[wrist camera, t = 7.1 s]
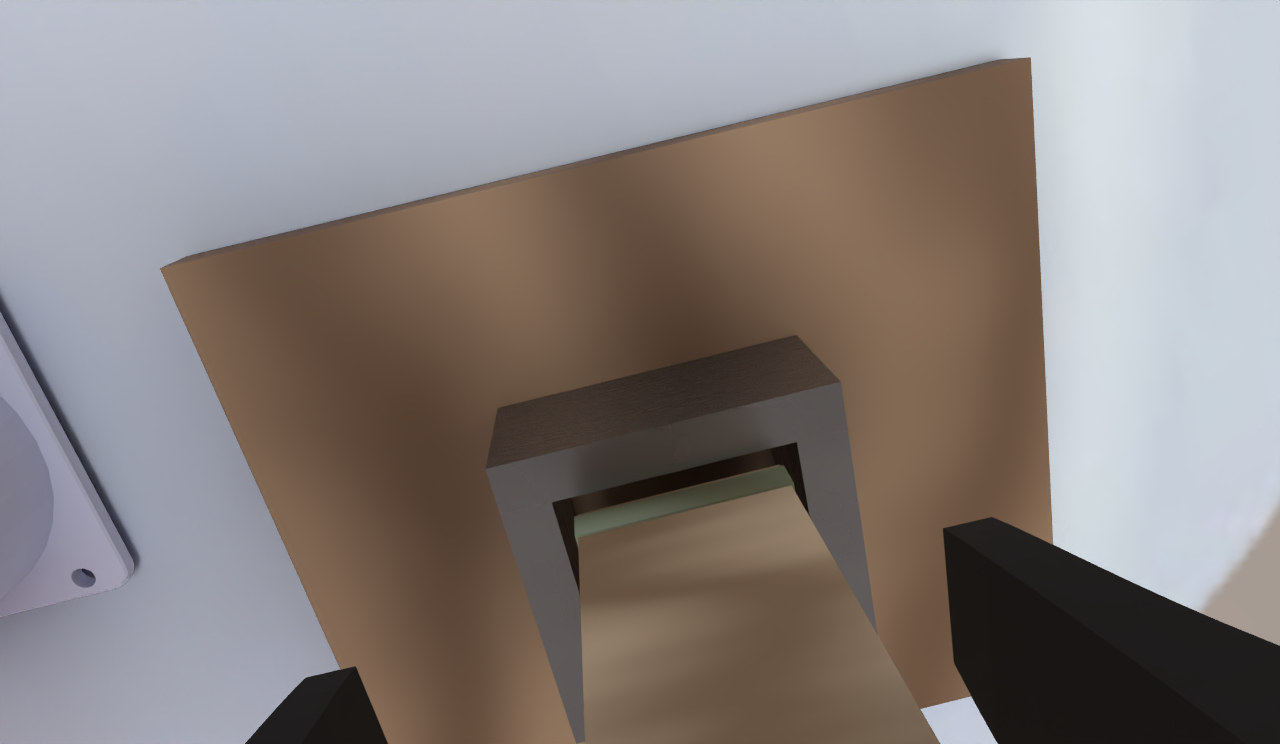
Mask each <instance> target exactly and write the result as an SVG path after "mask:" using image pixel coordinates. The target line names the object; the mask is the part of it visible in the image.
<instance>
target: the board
mask: <svg viewBox="0 0 1280 744" xmlns="http://www.w3.org/2000/svg"><path fill="white" fill-rule="evenodd" d="M160 270H161V272H162V274H163V276H164V279H165V281H166V283H167V285H168V287H169V290H170V292H171V294H172V296H173V298H174V301H175V303H176V305H177V307H178V310H179V312H180V314H181V316H182V318H183V321H184V323H185V325H186V327H187V330H188V332H189V334H190V336H191V338H192V341H193V343H194V345H195V347H196V350H197V352H198V354H199V356H200V358H201V361H202V363H203V365H204V367H205V370H206V372H207V374H208V376H209V378H210V381H211V383H212V385H213V387H214V390H215V392H216V394H217V396H218V398H219V401H220V403H221V405H222V407H223V409H224V412H225V414H226V416H227V418H228V421H229V423H230V425H231V427H232V429H233V432H234V434H235V436H236V438H237V441H238V443H239V445H240V447H241V449H242V452H243V454H244V456H245V458H246V461H247V463H248V465H249V467H250V469H251V472H252V474H253V476H254V478H255V481H256V483H257V485H258V487H259V489H260V492H261V494H262V496H263V498H264V500H265V503H266V505H267V507H268V509H269V512H270V514H271V516H272V518H273V520H274V523H275V525H276V527H277V529H278V532H279V534H280V536H281V538H282V540H283V543H284V545H285V547H286V549H287V552H288V554H289V556H290V558H291V560H292V563H293V565H294V567H295V569H296V572H297V574H298V576H299V578H300V580H301V583H302V585H303V587H304V589H305V592H306V594H307V596H308V598H309V600H310V603H311V605H312V607H313V609H314V611H315V614H316V616H317V618H318V620H319V623H320V625H321V627H322V629H323V631H324V634H325V636H326V638H327V640H328V643H329V645H330V647H331V649H332V651H333V654H334V656H335V658H336V660H337V663H338V665H339V667H340V669H345V668H350V667H354V666H356V668H357V670H358V673H359V675H360V677H361V680H362V682H363V685H364V687H365V689H366V692H367V694H368V697H369V699H370V701H371V704H372V706H373V709H374V711H375V713H376V716H377V718H378V721H379V723H380V725H381V728H382V730H383V733H384V735H385V737H386V740H387V742H388V744H576V742H575V739H574V736H573V733H572V730H571V727H570V724H569V721H568V717H567V714H566V711H565V708H564V705H563V702H562V699H561V696H560V693H559V690H558V687H557V684H556V681H555V678H554V675H553V672H552V669H551V666H550V663H549V660H548V657H547V654H546V651H545V648H544V645H543V642H542V639H541V636H540V633H539V630H538V627H537V624H536V621H535V618H534V615H533V612H532V609H531V606H530V603H529V600H528V597H527V594H526V591H525V588H524V585H523V582H522V579H521V576H520V573H519V570H518V567H517V564H516V561H515V558H514V555H513V552H512V549H511V546H510V543H509V540H508V537H507V534H506V531H505V528H504V525H503V521H502V518H501V515H500V512H499V509H498V506H497V503H496V500H495V497H494V494H493V491H492V488H491V485H490V482H489V479H488V476H487V473H486V470H485V467H486V463H487V458H488V453H489V448H490V443H491V438H492V433H493V428H494V423H495V418H496V414H497V409H498V408H499V407H503V406H507V405H511V404H515V403H520V402H524V401H528V400H532V399H536V398H540V397H544V396H548V395H552V394H556V393H560V392H564V391H568V390H573V389H577V388H581V387H585V386H589V385H593V384H597V383H601V382H605V381H609V380H613V379H617V378H622V377H626V376H630V375H634V374H638V373H642V372H646V371H650V370H654V369H658V368H662V367H666V366H671V365H675V364H679V363H683V362H687V361H691V360H695V359H699V358H703V357H707V356H711V355H715V354H720V353H724V352H728V351H732V350H736V349H740V348H744V347H748V346H752V345H756V344H760V343H764V342H768V341H773V340H777V339H781V338H785V337H789V336H793V335H797V336H798V337H799V338H800V339H801V340H802V341H803V342H804V343H805V344H806V345H807V346H808V348H809V349H810V350H811V351H812V352H813V353H814V354H815V355H816V356H817V357H818V358H819V359H820V360H821V361H822V362H823V363H824V364H825V365H826V367H827V368H828V369H829V370H830V371H831V372H832V373H833V374H834V375H835V376H836V377H837V378H838V379H839V380H840V381H841V386H842V393H843V400H844V407H845V413H846V420H847V427H848V434H849V441H850V448H851V455H852V462H853V469H854V476H855V482H856V489H857V496H858V503H859V510H860V517H861V524H862V531H863V538H864V544H865V551H866V558H867V565H868V572H869V579H870V586H871V593H872V600H873V607H874V613H875V620H876V627H877V634H878V637H879V638H880V640H881V642H882V644H883V645H884V647H885V649H886V651H887V652H888V654H889V656H890V658H891V659H892V661H893V663H894V664H895V666H896V668H897V670H898V671H899V673H900V675H901V677H902V678H903V680H904V682H905V684H906V685H907V687H908V689H909V691H910V692H911V694H912V696H913V698H914V699H915V701H916V703H917V704H918V706H919V708H920V709H922V708H926V707H930V706H934V705H938V704H942V703H946V702H950V701H954V700H958V699H962V698H966V697H970V696H971V694H970V693H969V691H968V689H967V687H966V685H965V683H964V681H963V679H962V677H961V676H960V674H959V672H958V670H957V668H956V666H955V664H954V659H953V647H952V635H951V623H950V611H949V599H948V586H947V574H946V562H945V550H944V538H943V528H946V527H951V526H955V525H959V524H963V523H968V522H972V521H976V520H980V519H985V518H989V517H993V518H996V519H998V520H1001V521H1003V522H1005V523H1008V524H1010V525H1012V526H1014V527H1016V528H1019V529H1021V530H1023V531H1025V532H1027V533H1029V534H1031V535H1034V536H1036V537H1038V538H1040V539H1042V540H1044V541H1046V542H1048V543H1050V544H1052V545H1053V534H1052V512H1051V490H1050V468H1049V447H1048V425H1047V403H1046V381H1045V359H1044V337H1043V316H1042V294H1041V272H1040V250H1039V228H1038V206H1037V185H1036V163H1035V141H1034V119H1033V97H1032V75H1031V58H1016V59H1001V60H996V61H992V62H988V63H984V64H979V65H975V66H971V67H967V68H963V69H959V70H955V71H951V72H946V73H942V74H938V75H934V76H930V77H926V78H922V79H918V80H913V81H909V82H905V83H901V84H897V85H893V86H889V87H885V88H880V89H876V90H872V91H868V92H864V93H860V94H856V95H851V96H847V97H843V98H839V99H835V100H831V101H827V102H823V103H818V104H814V105H810V106H806V107H802V108H798V109H794V110H790V111H785V112H781V113H777V114H773V115H769V116H765V117H761V118H757V119H752V120H748V121H744V122H740V123H736V124H732V125H728V126H724V127H719V128H715V129H711V130H707V131H703V132H699V133H695V134H690V135H686V136H682V137H678V138H674V139H670V140H666V141H662V142H657V143H653V144H649V145H645V146H641V147H637V148H633V149H629V150H624V151H620V152H616V153H612V154H608V155H604V156H600V157H596V158H591V159H587V160H583V161H579V162H575V163H571V164H567V165H563V166H558V167H554V168H550V169H546V170H542V171H538V172H534V173H530V174H525V175H521V176H517V177H513V178H509V179H505V180H501V181H496V182H492V183H488V184H484V185H480V186H476V187H472V188H468V189H463V190H459V191H455V192H451V193H447V194H443V195H439V196H435V197H430V198H426V199H422V200H418V201H414V202H410V203H406V204H402V205H397V206H393V207H389V208H385V209H381V210H377V211H373V212H369V213H364V214H360V215H356V216H352V217H348V218H344V219H340V220H336V221H331V222H327V223H323V224H319V225H315V226H311V227H307V228H302V229H298V230H294V231H290V232H286V233H282V234H278V235H274V236H269V237H265V238H261V239H257V240H253V241H249V242H245V243H241V244H236V245H232V246H228V247H224V248H220V249H216V250H212V251H208V252H203V253H199V254H195V255H191V256H187V257H185V258H182V259H180V260H178V261H176V262H173V263H171V264H169V265H167V266H164V267H162V268H160ZM772 466H775V464H774V459H773V454H772V448H770V449H766V450H762V451H758V452H754V453H750V454H746V455H742V456H738V457H734V458H730V459H726V460H722V461H717V462H713V463H709V464H705V465H701V466H697V467H693V468H689V469H685V470H681V471H677V472H673V473H669V474H665V475H661V476H657V477H652V478H648V479H644V480H640V481H636V482H632V483H628V484H624V485H620V486H616V487H612V488H608V489H604V490H600V491H596V492H592V493H588V494H583V495H579V496H575V497H571V499H572V502H573V506H574V509H575V513H576V516H577V514H581V513H585V512H589V511H593V510H597V509H601V508H605V507H609V506H613V505H617V504H621V503H626V502H630V501H634V500H638V499H642V498H646V497H650V496H654V495H658V494H662V493H666V492H670V491H674V490H678V489H682V488H686V487H690V486H695V485H699V484H703V483H707V482H711V481H715V480H719V479H723V478H727V477H731V476H735V475H739V474H743V473H747V472H751V471H755V470H759V469H763V468H768V467H772ZM577 744H585V742H581V743H577Z"/></svg>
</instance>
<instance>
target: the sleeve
mask: <svg viewBox="0 0 1280 744" xmlns="http://www.w3.org/2000/svg"><path fill="white" fill-rule="evenodd" d="M770 448H772V454H773V459H774V464H775V466H776V465H780V466H782V465H784V467H785V468H786V470H787V472H788V474H789V475H790V477H791V479H792V480H793V482H794V487H795V492H796V494H797V496H798V498H799V499H800V501H801V503H802V505H803V506H804V508H805V510H806V512H807V513H808V515H809V517H810V519H811V520H812V522H813V524H814V525H815V527H816V529H817V531H818V532H819V534H820V536H821V538H822V539H823V541H824V543H825V545H826V546H827V548H828V550H829V552H830V553H831V555H832V557H833V558H834V560H835V562H836V564H837V565H838V567H839V569H840V571H841V572H842V574H843V576H844V578H845V579H846V581H847V583H848V585H849V586H850V588H851V590H852V592H853V593H854V595H855V597H856V598H857V600H858V602H859V604H860V605H861V607H862V609H863V611H864V612H865V614H866V616H867V618H868V619H869V621H870V623H871V625H872V626H873V628H874V630H875V631H876V633H877V627H876V620H875V613H874V607H873V600H872V593H871V586H870V579H869V572H868V565H867V558H866V551H865V544H864V538H863V531H862V524H861V517H860V510H859V503H858V496H857V489H856V482H855V476H854V469H853V462H852V455H851V448H850V441H849V434H848V427H847V420H846V413H845V407H844V400H843V393H842V386H841V381H840V380H839V379H838V378H837V377H836V376H835V375H834V374H833V373H832V372H831V371H830V370H829V369H828V368H827V367H826V365H825V364H824V363H823V362H822V361H821V360H820V359H819V358H818V357H817V356H816V355H815V354H814V353H813V352H812V351H811V350H810V349H809V348H808V346H807V345H806V344H805V343H804V342H803V341H802V340H801V339H800V338H799V337H798V336H797V335H793V336H789V337H785V338H781V339H777V340H773V341H768V342H764V343H760V344H756V345H752V346H748V347H744V348H740V349H736V350H732V351H728V352H724V353H720V354H715V355H711V356H707V357H703V358H699V359H695V360H691V361H687V362H683V363H679V364H675V365H671V366H666V367H662V368H658V369H654V370H650V371H646V372H642V373H638V374H634V375H630V376H626V377H622V378H617V379H613V380H609V381H605V382H601V383H597V384H593V385H589V386H585V387H581V388H577V389H573V390H568V391H564V392H560V393H556V394H552V395H548V396H544V397H540V398H536V399H532V400H528V401H524V402H520V403H515V404H511V405H507V406H503V407H499V408H498V409H497V414H496V418H495V423H494V428H493V433H492V438H491V443H490V448H489V453H488V458H487V463H486V467H485V470H486V473H487V476H488V479H489V482H490V485H491V488H492V491H493V494H494V497H495V500H496V503H497V506H498V509H499V512H500V515H501V518H502V521H503V525H504V528H505V531H506V534H507V537H508V540H509V543H510V546H511V549H512V552H513V555H514V558H515V561H516V564H517V567H518V570H519V573H520V576H521V579H522V582H523V585H524V588H525V591H526V594H527V597H528V600H529V603H530V606H531V609H532V612H533V615H534V618H535V621H536V624H537V627H538V630H539V633H540V636H541V639H542V642H543V645H544V648H545V651H546V654H547V657H548V660H549V663H550V666H551V669H552V672H553V675H554V678H555V681H556V684H557V687H558V690H559V693H560V696H561V699H562V702H563V705H564V708H565V711H566V714H567V717H568V721H569V724H570V727H571V730H572V733H573V736H574V739H575V742H576V744H577V743H581V742H585V727H584V697H583V668H582V638H581V609H580V579H579V550H578V546H577V542H576V539H575V527H574V517H575V516H576V513H575V509H574V506H573V502H572V499H571V497H575V496H579V495H583V494H588V493H592V492H596V491H600V490H604V489H608V488H612V487H616V486H620V485H624V484H628V483H632V482H636V481H640V480H644V479H648V478H652V477H657V476H661V475H665V474H669V473H673V472H677V471H681V470H685V469H689V468H693V467H697V466H701V465H705V464H709V463H713V462H717V461H722V460H726V459H730V458H734V457H738V456H742V455H746V454H750V453H754V452H758V451H762V450H766V449H770ZM877 635H878V634H877Z"/></svg>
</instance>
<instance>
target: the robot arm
mask: <svg viewBox="0 0 1280 744" xmlns="http://www.w3.org/2000/svg"><path fill="white" fill-rule="evenodd" d="M943 538H944V550H945V562H946V574H947V586H948V599H949V611H950V623H951V635H952V647H953V659H954V664H955V666H956V668H957V670H958V672H959V674H960V676H961V677H962V679H963V681H964V683H965V685H966V687H967V689H968V691H969V693H970V694H971V696H972V698H973V700H974V702H975V704H976V706H977V708H978V709H979V711H980V713H981V715H982V717H983V718H984V720H985V722H986V724H987V725H988V727H989V729H990V731H991V733H992V734H993V736H994V738H995V740H996V741H997V743H998V744H1280V646H1278V645H1276V644H1274V643H1271V642H1269V641H1266V640H1264V639H1262V638H1259V637H1257V636H1254V635H1252V634H1249V633H1247V632H1244V631H1242V630H1239V629H1237V628H1235V627H1232V626H1230V625H1227V624H1224V623H1222V622H1220V621H1218V620H1215V619H1213V618H1211V617H1208V616H1206V615H1204V614H1201V613H1199V612H1197V611H1194V610H1192V609H1190V608H1188V607H1185V606H1183V605H1181V604H1178V603H1176V602H1174V601H1172V600H1170V599H1167V598H1165V597H1163V596H1161V595H1158V594H1156V593H1154V592H1152V591H1150V590H1148V589H1145V588H1143V587H1141V586H1139V585H1137V584H1134V583H1132V582H1130V581H1128V580H1126V579H1124V578H1122V577H1119V576H1117V575H1115V574H1113V573H1111V572H1109V571H1107V570H1105V569H1102V568H1100V567H1098V566H1096V565H1094V564H1092V563H1090V562H1088V561H1086V560H1084V559H1082V558H1079V557H1077V556H1075V555H1073V554H1071V553H1069V552H1067V551H1065V550H1063V549H1061V548H1059V547H1057V546H1055V545H1052V544H1050V543H1048V542H1046V541H1044V540H1042V539H1040V538H1038V537H1036V536H1034V535H1031V534H1029V533H1027V532H1025V531H1023V530H1021V529H1019V528H1016V527H1014V526H1012V525H1010V524H1008V523H1005V522H1003V521H1001V520H998V519H996V518H993V517H989V518H985V519H980V520H976V521H972V522H968V523H963V524H959V525H955V526H951V527H946V528H943ZM134 568H135V566H134V562H133V559H132V557H131V555H130V554H129V552H128V550H127V548H126V546H125V544H124V542H123V541H122V539H121V537H120V535H119V533H118V531H117V529H116V527H115V526H114V524H113V522H112V520H111V518H110V516H109V514H108V512H107V511H106V509H105V507H104V505H103V503H102V501H101V499H100V497H99V496H98V494H97V492H96V490H95V488H94V486H93V484H92V483H91V481H90V479H89V477H88V475H87V473H86V471H85V469H84V468H83V466H82V464H81V462H80V460H79V458H78V456H77V454H76V453H75V451H74V449H73V447H72V445H71V443H70V441H69V439H68V438H67V436H66V434H65V432H64V430H63V428H62V426H61V425H60V423H59V421H58V419H57V417H56V415H55V413H54V411H53V410H52V408H51V406H50V404H49V402H48V400H47V398H46V396H45V395H44V393H43V391H42V389H41V387H40V385H39V383H38V382H37V380H36V378H35V376H34V374H33V372H32V370H31V368H30V367H29V365H28V363H27V361H26V359H25V357H24V355H23V353H22V352H21V350H20V348H19V346H18V344H17V342H16V340H15V338H14V337H13V335H12V333H11V331H10V329H9V327H8V325H7V324H6V322H5V320H4V318H3V316H2V314H1V312H0V617H4V616H8V615H12V614H16V613H20V612H24V611H28V610H32V609H36V608H40V607H44V606H49V605H53V604H57V603H61V602H65V601H69V600H73V599H77V598H81V597H85V596H89V595H93V594H97V593H101V592H105V591H109V590H114V589H116V588H119V587H121V586H123V584H124V583H125V582H126V581H127V580H128V579H129V578H130V576H131V575H132V574H133V572H134ZM82 569H87V570H89V571H91V572H92V573H93V574H94V575H95V578H91V577H89V576H86V575H85V574H84V573H83V572H82ZM245 744H388V742H387V740H386V737H385V735H384V733H383V730H382V728H381V725H380V723H379V721H378V718H377V716H376V713H375V711H374V709H373V706H372V704H371V701H370V699H369V697H368V694H367V692H366V689H365V687H364V685H363V682H362V680H361V677H360V675H359V673H358V670H357V668H356V666H354V667H350V668H345V669H341V670H337V671H333V672H328V673H324V674H320V675H316V676H311V677H307V678H305V679H304V680H303V681H302V682H301V683H300V684H299V685H298V686H297V687H296V688H295V689H294V690H293V691H292V692H291V693H290V694H289V695H288V696H287V697H286V699H285V700H284V701H283V702H282V703H281V704H280V705H279V706H278V707H277V708H276V709H275V711H274V712H273V713H272V714H271V715H270V716H269V717H268V718H267V719H266V721H265V722H264V723H263V724H262V725H261V726H260V727H259V728H258V730H257V731H256V732H255V733H254V734H253V735H252V736H251V738H250V739H249V740H248V741H247V742H246V743H245Z"/></svg>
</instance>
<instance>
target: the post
mask: <svg viewBox="0 0 1280 744" xmlns="http://www.w3.org/2000/svg"><path fill="white" fill-rule="evenodd" d="M574 527H575V539H576V542H577V546H578V550H579V579H580V609H581V638H582V668H583V697H584V727H585V744H940V743H939V741H938V739H937V737H936V736H935V734H934V732H933V731H932V729H931V727H930V725H929V724H928V722H927V720H926V718H925V717H924V715H923V713H922V711H921V710H920V708H919V706H918V704H917V703H916V701H915V699H914V698H913V696H912V694H911V692H910V691H909V689H908V687H907V685H906V684H905V682H904V680H903V678H902V677H901V675H900V673H899V671H898V670H897V668H896V666H895V664H894V663H893V661H892V659H891V658H890V656H889V654H888V652H887V651H886V649H885V647H884V645H883V644H882V642H881V640H880V638H879V637H878V635H877V633H876V631H875V630H874V628H873V626H872V625H871V623H870V621H869V619H868V618H867V616H866V614H865V612H864V611H863V609H862V607H861V605H860V604H859V602H858V600H857V598H856V597H855V595H854V593H853V592H852V590H851V588H850V586H849V585H848V583H847V581H846V579H845V578H844V576H843V574H842V572H841V571H840V569H839V567H838V565H837V564H836V562H835V560H834V558H833V557H832V555H831V553H830V552H829V550H828V548H827V546H826V545H825V543H824V541H823V539H822V538H821V536H820V534H819V532H818V531H817V529H816V527H815V525H814V524H813V522H812V520H811V519H810V517H809V515H808V513H807V512H806V510H805V508H804V506H803V505H802V503H801V501H800V499H799V498H798V496H797V494H796V492H795V487H794V482H793V480H792V479H791V477H790V475H789V474H788V472H787V470H786V468H785V467H784V465H782V466H780V465H776V466H772V467H768V468H763V469H759V470H755V471H751V472H747V473H743V474H739V475H735V476H731V477H727V478H723V479H719V480H715V481H711V482H707V483H703V484H699V485H695V486H690V487H686V488H682V489H678V490H674V491H670V492H666V493H662V494H658V495H654V496H650V497H646V498H642V499H638V500H634V501H630V502H626V503H621V504H617V505H613V506H609V507H605V508H601V509H597V510H593V511H589V512H585V513H581V514H577V516H575V517H574Z"/></svg>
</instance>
